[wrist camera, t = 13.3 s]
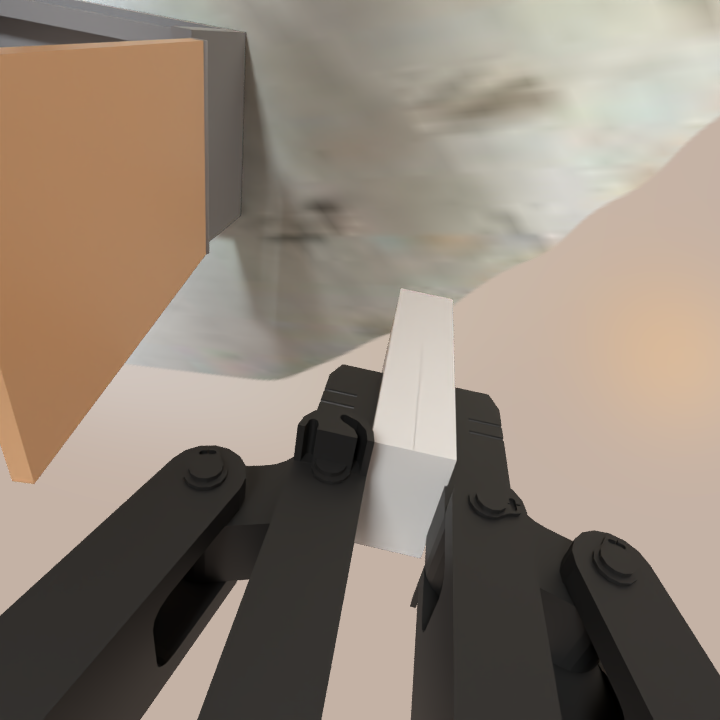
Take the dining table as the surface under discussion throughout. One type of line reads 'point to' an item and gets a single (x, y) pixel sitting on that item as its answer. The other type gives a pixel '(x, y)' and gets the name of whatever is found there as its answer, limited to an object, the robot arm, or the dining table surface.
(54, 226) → the tan rectangular panel
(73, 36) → the housing
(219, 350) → the dining table surface
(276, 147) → the dining table surface
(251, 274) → the dining table surface
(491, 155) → the dining table surface
